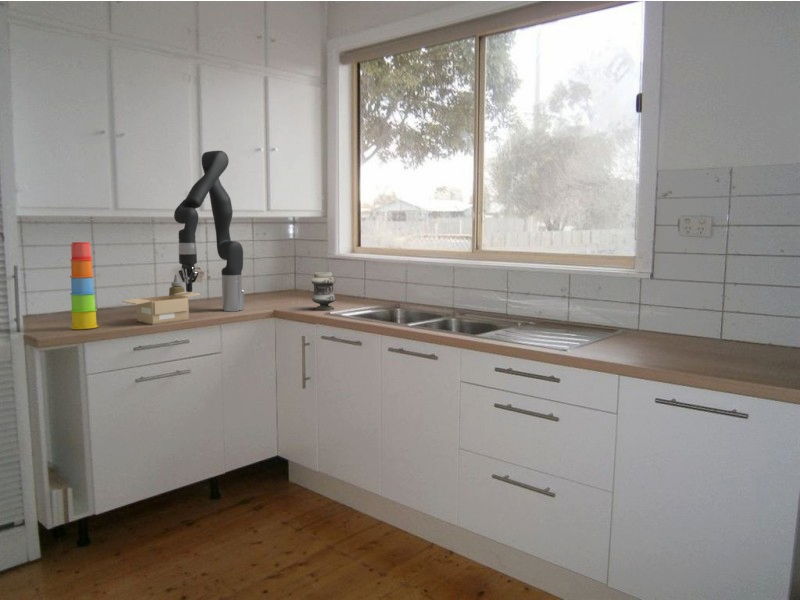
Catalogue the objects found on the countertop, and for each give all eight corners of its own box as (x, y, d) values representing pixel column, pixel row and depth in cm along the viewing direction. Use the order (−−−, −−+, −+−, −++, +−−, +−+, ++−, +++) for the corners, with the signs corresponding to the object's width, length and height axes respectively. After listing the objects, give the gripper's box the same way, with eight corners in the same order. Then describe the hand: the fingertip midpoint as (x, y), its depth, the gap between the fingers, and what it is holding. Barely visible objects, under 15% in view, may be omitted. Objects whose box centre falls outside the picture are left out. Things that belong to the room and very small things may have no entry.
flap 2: (173, 295, 286) (185, 292, 290) (188, 297, 278) (200, 294, 283) (173, 294, 286) (185, 291, 290) (188, 296, 278) (200, 293, 283)
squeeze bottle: (181, 314, 295) (179, 275, 293) (165, 313, 297) (163, 275, 294) (190, 311, 303) (188, 274, 301) (174, 311, 305) (173, 273, 302)
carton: (171, 316, 288) (170, 295, 287) (189, 320, 278) (188, 297, 277) (136, 321, 275) (135, 298, 274) (153, 325, 266) (152, 301, 265)
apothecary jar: (316, 307, 320) (315, 271, 318) (339, 307, 318) (339, 271, 316) (308, 310, 309) (307, 273, 306) (332, 311, 306) (331, 273, 304)
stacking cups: (64, 328, 256) (59, 242, 252) (88, 325, 265) (83, 241, 261) (80, 331, 251) (74, 242, 247) (104, 327, 260) (99, 242, 255)
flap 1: (135, 298, 273) (122, 300, 268) (149, 300, 265) (136, 303, 261) (135, 299, 273) (122, 301, 268) (150, 301, 265) (136, 304, 261)
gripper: (203, 253, 281) (205, 292, 284) (187, 252, 290) (188, 290, 292) (188, 254, 276) (189, 293, 278) (172, 252, 284) (173, 291, 287)
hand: (189, 291), depth 285 cm, fingers closed
